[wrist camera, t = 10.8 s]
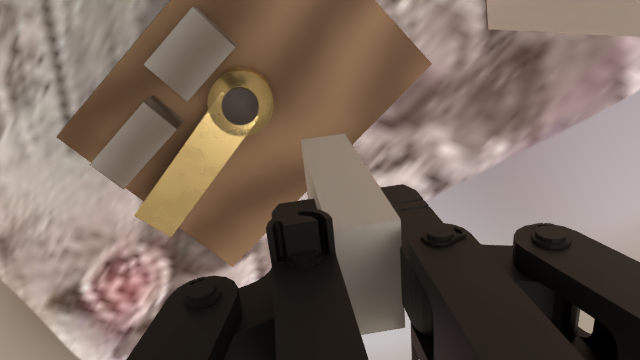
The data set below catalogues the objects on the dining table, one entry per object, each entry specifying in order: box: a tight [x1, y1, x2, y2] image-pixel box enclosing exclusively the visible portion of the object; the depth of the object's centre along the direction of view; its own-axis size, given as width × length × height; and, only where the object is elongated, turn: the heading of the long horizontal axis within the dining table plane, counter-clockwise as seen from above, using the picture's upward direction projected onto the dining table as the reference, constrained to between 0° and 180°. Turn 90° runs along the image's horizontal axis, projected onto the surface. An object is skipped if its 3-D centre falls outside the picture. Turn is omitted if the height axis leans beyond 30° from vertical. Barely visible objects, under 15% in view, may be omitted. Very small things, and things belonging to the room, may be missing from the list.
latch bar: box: [134, 66, 274, 237], centre depth 33 cm, size 13×4×4 cm, turn 142°
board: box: [57, 0, 431, 266], centre depth 33 cm, size 17×24×6 cm
